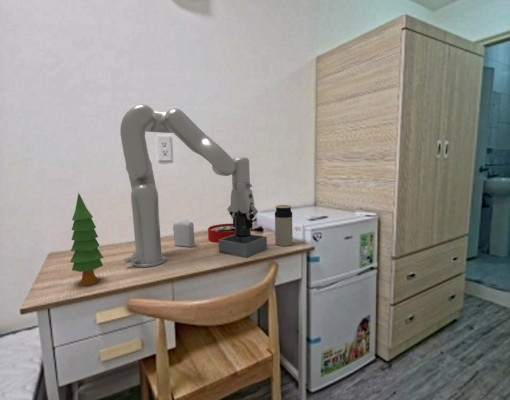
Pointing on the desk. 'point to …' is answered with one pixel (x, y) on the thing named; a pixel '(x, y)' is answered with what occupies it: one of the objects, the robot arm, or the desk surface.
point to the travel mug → (283, 225)
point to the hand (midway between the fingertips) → (242, 227)
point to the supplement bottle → (241, 225)
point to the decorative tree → (85, 244)
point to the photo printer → (184, 233)
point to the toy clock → (220, 232)
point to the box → (242, 245)
